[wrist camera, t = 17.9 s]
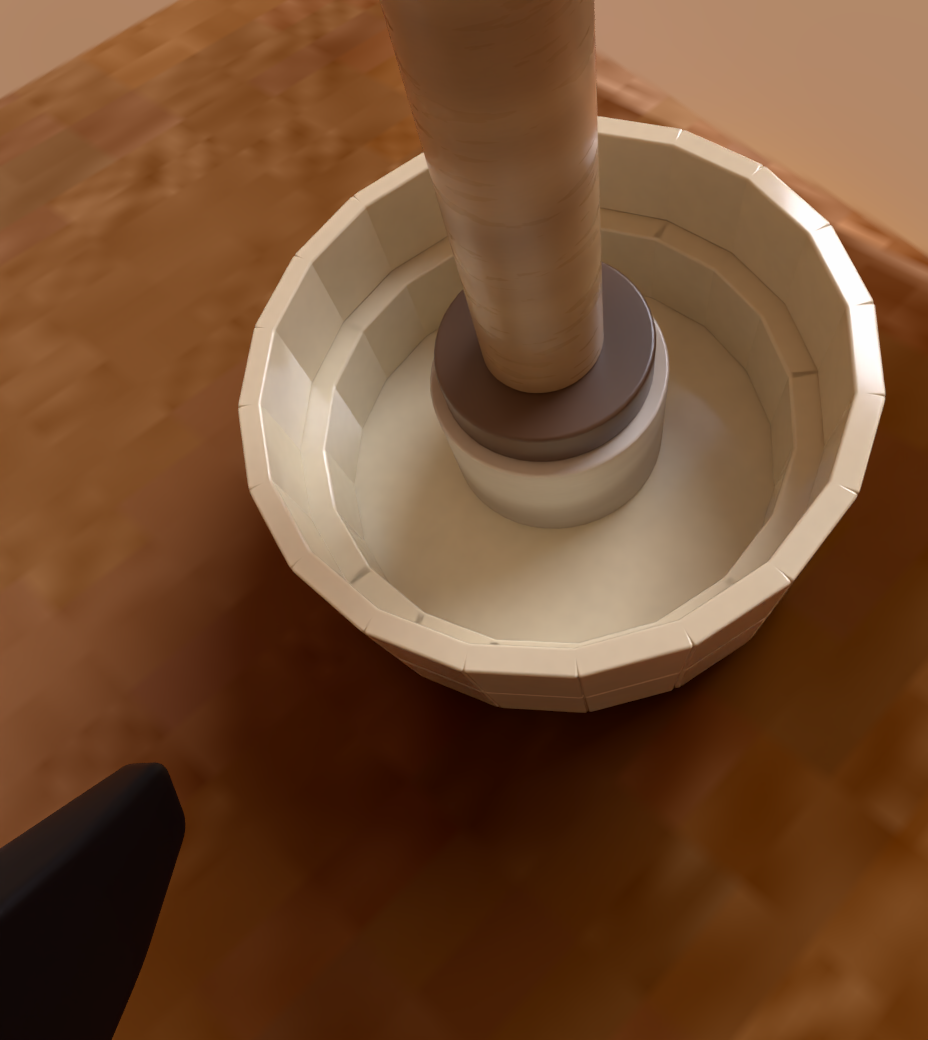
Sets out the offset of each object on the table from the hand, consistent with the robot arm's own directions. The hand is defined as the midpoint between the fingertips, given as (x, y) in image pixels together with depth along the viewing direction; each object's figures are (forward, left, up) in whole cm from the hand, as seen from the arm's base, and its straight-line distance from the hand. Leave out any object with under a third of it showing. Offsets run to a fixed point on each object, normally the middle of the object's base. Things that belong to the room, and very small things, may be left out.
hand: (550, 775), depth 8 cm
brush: (+6, -6, -8) cm, 12 cm away
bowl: (+5, -6, -9) cm, 12 cm away
